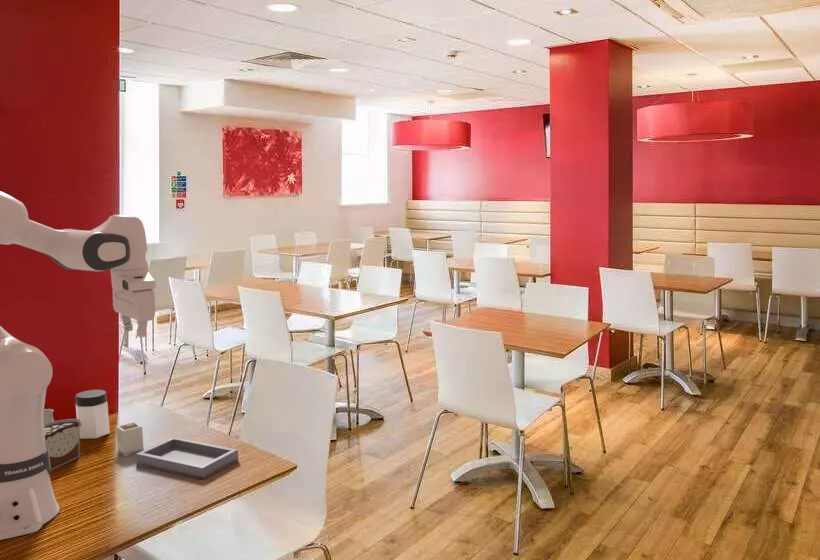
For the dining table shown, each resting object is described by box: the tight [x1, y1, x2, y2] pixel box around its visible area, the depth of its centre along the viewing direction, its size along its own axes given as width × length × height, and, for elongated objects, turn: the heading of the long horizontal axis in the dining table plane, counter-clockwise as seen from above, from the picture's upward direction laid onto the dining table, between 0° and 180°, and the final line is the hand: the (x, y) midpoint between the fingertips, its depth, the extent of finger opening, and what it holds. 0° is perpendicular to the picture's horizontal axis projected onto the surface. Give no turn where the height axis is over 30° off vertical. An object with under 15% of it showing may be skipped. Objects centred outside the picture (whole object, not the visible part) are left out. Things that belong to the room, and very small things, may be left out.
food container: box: [44, 418, 81, 472], centre depth 179 cm, size 12×6×10 cm, turn 161°
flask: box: [43, 408, 55, 425], centre depth 191 cm, size 7×7×10 cm
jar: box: [74, 389, 110, 440], centre depth 199 cm, size 9×8×12 cm
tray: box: [135, 436, 239, 481], centre depth 178 cm, size 13×22×3 cm, turn 64°
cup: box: [115, 421, 145, 457], centre depth 186 cm, size 5×5×8 cm
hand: (135, 333), depth 176 cm, fingers open, 8 cm apart
